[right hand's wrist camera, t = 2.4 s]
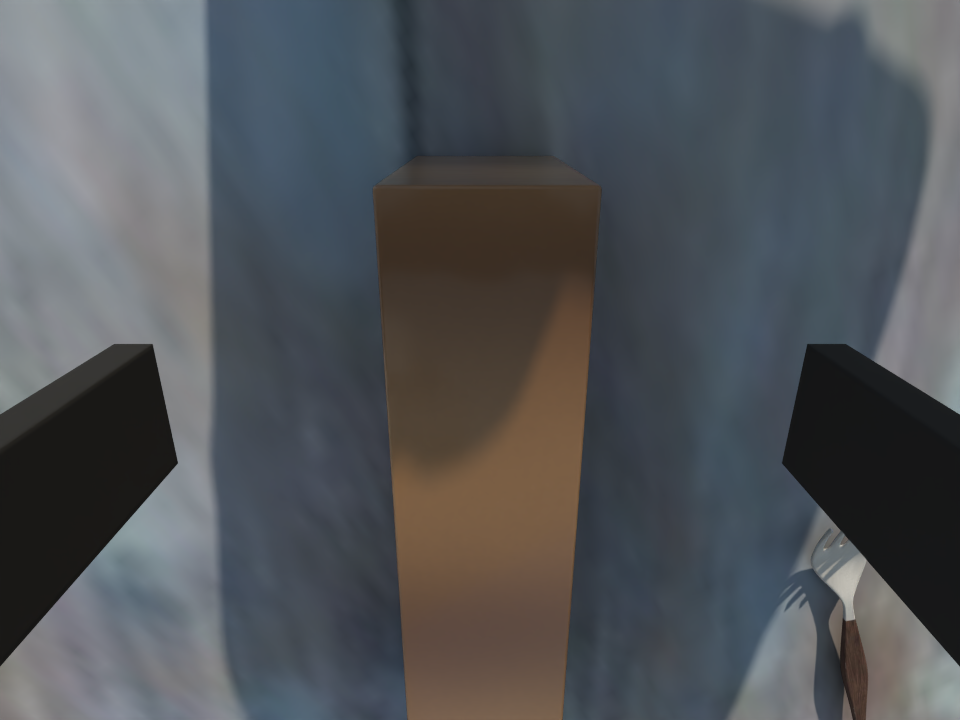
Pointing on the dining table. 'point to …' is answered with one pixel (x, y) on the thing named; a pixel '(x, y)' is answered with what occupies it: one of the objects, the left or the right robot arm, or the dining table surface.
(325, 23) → the dining table surface
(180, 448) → the dining table surface
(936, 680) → the dining table surface
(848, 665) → the fork
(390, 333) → the bar
